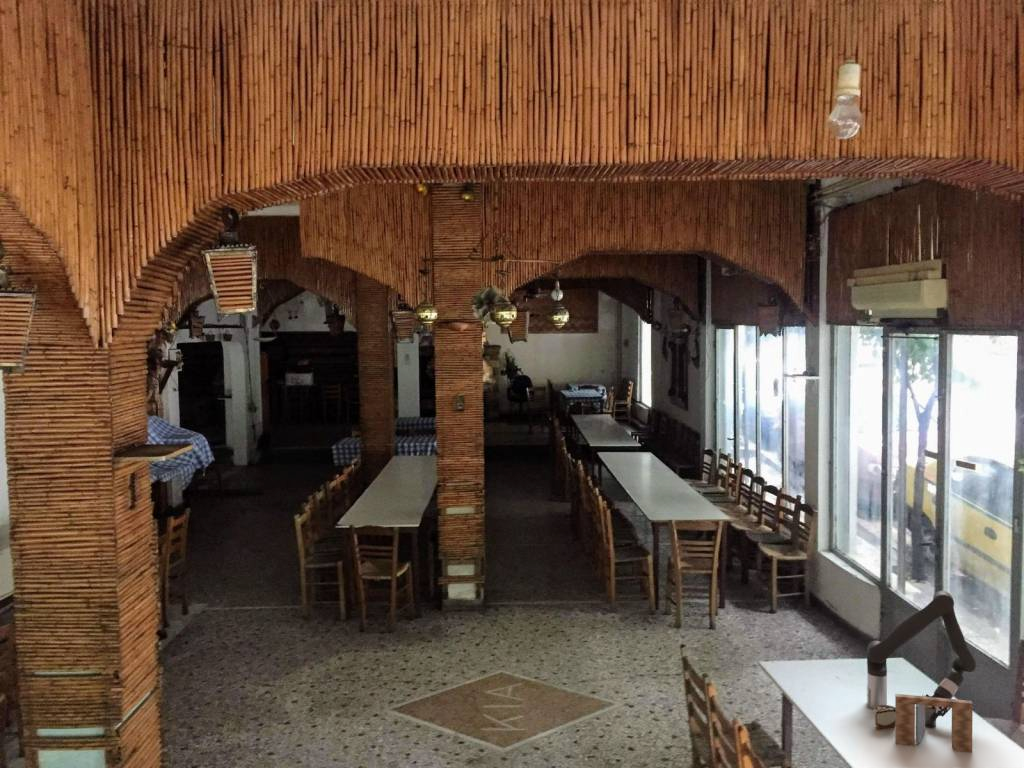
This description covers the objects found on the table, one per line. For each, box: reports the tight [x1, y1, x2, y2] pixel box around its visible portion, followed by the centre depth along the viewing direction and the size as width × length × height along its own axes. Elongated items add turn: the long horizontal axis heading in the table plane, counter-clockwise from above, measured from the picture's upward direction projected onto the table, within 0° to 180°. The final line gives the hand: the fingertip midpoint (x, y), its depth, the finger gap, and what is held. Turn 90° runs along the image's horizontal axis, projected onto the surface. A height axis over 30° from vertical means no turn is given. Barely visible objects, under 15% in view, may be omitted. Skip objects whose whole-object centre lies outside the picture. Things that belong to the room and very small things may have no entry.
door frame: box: [894, 693, 974, 753], centre depth 394 cm, size 32×3×23 cm, turn 73°
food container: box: [872, 704, 895, 732], centre depth 415 cm, size 12×6×10 cm, turn 102°
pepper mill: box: [925, 705, 937, 729], centre depth 415 cm, size 6×6×11 cm
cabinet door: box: [915, 694, 926, 745], centre depth 402 cm, size 14×3×18 cm, turn 143°
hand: (926, 717), depth 414 cm, fingers closed on pepper mill, 5 cm apart
